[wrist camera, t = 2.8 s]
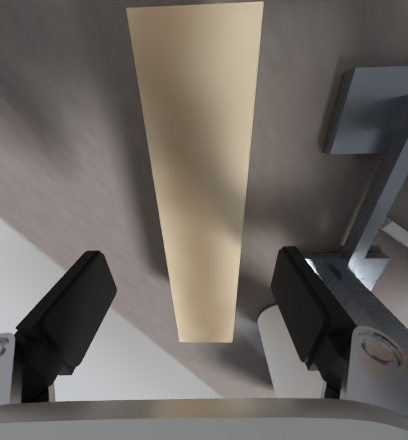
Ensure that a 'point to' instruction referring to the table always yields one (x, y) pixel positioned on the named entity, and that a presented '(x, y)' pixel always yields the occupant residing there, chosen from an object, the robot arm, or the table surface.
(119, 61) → the table surface
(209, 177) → the rail
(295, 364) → the can
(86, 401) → the robot arm
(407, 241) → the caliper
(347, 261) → the grey support stand
